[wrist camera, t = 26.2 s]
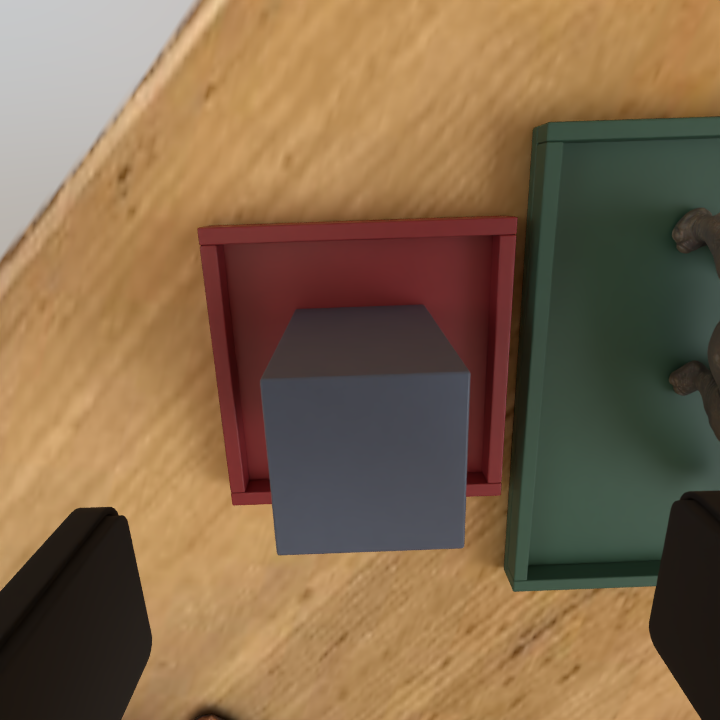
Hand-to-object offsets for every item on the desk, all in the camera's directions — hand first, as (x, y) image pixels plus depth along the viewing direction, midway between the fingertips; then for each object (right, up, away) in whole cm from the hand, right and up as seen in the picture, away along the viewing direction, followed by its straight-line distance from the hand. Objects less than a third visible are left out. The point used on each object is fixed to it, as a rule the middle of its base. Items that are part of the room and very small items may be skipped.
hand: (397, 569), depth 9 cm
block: (-1, +3, +11) cm, 12 cm away
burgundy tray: (-1, +4, +12) cm, 12 cm away
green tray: (+13, +3, +12) cm, 19 cm away
